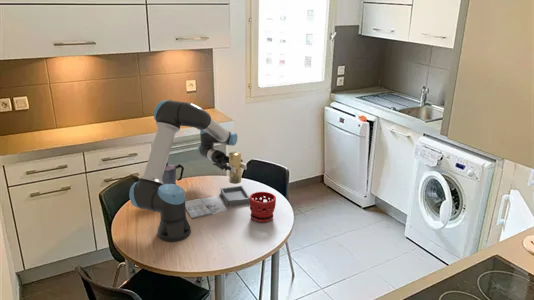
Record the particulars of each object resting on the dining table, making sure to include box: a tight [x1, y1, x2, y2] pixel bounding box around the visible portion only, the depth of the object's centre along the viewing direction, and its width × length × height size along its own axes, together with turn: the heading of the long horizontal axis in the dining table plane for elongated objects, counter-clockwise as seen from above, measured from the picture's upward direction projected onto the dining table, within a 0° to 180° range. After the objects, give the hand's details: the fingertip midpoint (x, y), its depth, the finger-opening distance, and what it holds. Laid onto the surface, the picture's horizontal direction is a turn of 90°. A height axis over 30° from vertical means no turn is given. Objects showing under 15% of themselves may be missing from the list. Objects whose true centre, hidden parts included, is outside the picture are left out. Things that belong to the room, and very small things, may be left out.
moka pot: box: [162, 162, 185, 185], centre depth 232 cm, size 10×15×20 cm, turn 115°
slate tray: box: [220, 185, 250, 207], centre depth 233 cm, size 17×13×3 cm
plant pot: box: [248, 191, 277, 223], centre depth 212 cm, size 13×13×12 cm
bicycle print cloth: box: [185, 195, 228, 219], centre depth 223 cm, size 19×20×2 cm
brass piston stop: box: [228, 151, 242, 185], centre depth 228 cm, size 6×6×16 cm
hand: (240, 168), depth 224 cm, fingers closed on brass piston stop, 6 cm apart
